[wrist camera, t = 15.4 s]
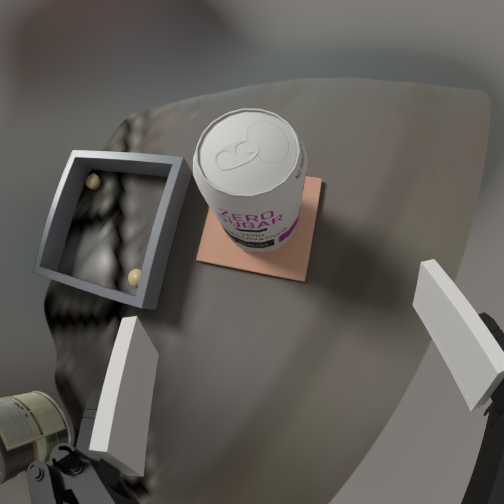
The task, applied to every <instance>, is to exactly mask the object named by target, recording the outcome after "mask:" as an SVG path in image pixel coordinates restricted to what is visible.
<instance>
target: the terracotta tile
mask: <svg viewBox="0 0 504 504" xmlns="http://www.w3.org/2000/svg"><path fill="white" fill-rule="evenodd" d="M321 181H322V179H319V178H314V177H309V176H306V177H305V183H304V189H303V196H302V202H301V208H300V214H299V220H298V224H297V228H296V231H295V233H294V234H293V236H292V237H291V239H290V240H289V242H287V243H286V244H285V245H283V246H282V247H280V248H279V249H278V250H274V251H271V252H267V253H252V252H248V251H246V250H244V249H242V248H239V247H238V246H237V245H236V244H235V243H234V242H233V241H232V240H231V239H230V238H229V237H228V235H227V234H226V232H225V231H224V229H223V227H222V226H221V224H220V223H219V221H218V219H217V218H216V216H215V215H214V213H213V211H212V210H211V208H210V207H209V211H208V214H207V218H206V222H205V226H204V230H203V234H202V238H201V242H200V246H199V250H198V254H197V258H196V260H197V261H201V262H205V263H210V264H215V265H220V266H225V267H230V268H235V269H240V270H245V271H250V272H255V273H260V274H265V275H270V276H275V277H280V278H285V279H291V280H296V281H301V282H305V277H306V272H307V267H308V261H309V255H310V250H311V244H312V238H313V232H314V226H315V220H316V214H317V208H318V201H319V195H320V188H321Z"/></svg>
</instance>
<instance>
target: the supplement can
mask: <svg viewBox="0 0 504 504" xmlns="http://www.w3.org/2000/svg"><path fill="white" fill-rule="evenodd" d="M307 164H308V162H307V156H306V150H305V145H304V144H303V142H302V141H301V139H300V137H299V136H298V134H297V133H296V131H295V130H294V129H292V127H291V126H290V124H289V123H288V122H287V121H285V120H284V119H282V118H281V117H280V116H278V115H277V114H275V113H272V112H269V111H266V110H262V109H239V110H236V111H232V112H228V113H226V114H224V115H222V116H221V117H219V118H217V119H216V120H214V121H213V122H212V123H211V124H210V125H209V126H208V127H207V128H206V129H205V131H204V132H203V133H202V135H201V137H200V139H199V142H198V144H197V147H196V152H195V155H194V157H193V176H194V178H195V181H196V183H197V185H198V188H199V190H200V192H201V194H202V195H203V197H204V198H205V200H206V202H207V203H208V205H209V207H210V208H211V210H212V211H213V213H214V215H215V216H216V218H217V219H218V221H219V223H220V224H221V226H222V227H223V229H224V231H225V232H226V234H227V235H228V237H229V238H230V239H231V240H232V241H233V242H234V243H235V244H236V245H237V246H238V247H239V248H242V249H244V250H246V251H248V252H252V253H267V252H271V251H274V250H278V249H279V248H280V247H282V246H283V245H285V244H286V243H287V242H289V240H290V239H291V237H292V236H293V234H294V233H295V231H296V228H297V224H298V220H299V214H300V208H301V202H302V196H303V189H304V183H305V177H306V170H307Z"/></svg>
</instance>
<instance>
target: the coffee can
mask: <svg viewBox="0 0 504 504" xmlns="http://www.w3.org/2000/svg"><path fill="white" fill-rule="evenodd" d="M60 443H68V444H70V445H71V430H70V426H69V423H68V420H67V418H66V416H65V414H64V412H63V411H62V409H61V408H60V406H59V405H58V404H57V403H56V402H55V400H54V399H52V398H51V397H50V396H48V395H47V394H45V393H43V392H39V391H32V392H30V393H26V394H20V395H14V396H9V397H3V398H0V484H2V483H4V482H5V481H7V480H9V479H11V478H14V477H16V476H18V475H20V474H22V473H24V472H27V470H28V467H29V465H30V464H31V463H32V462H34V461H35V460H41V461H43V462H48V461H50V454H51V452H52V449H53V448H54V447H55V446H56V445H58V444H60Z"/></svg>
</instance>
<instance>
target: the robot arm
mask: <svg viewBox="0 0 504 504" xmlns="http://www.w3.org/2000/svg"><path fill="white" fill-rule="evenodd" d="M413 307H414V309H415V310H416V312H417V314H418V315H419V317H420V318H421V320H422V322H423V323H424V325H425V327H426V329H427V330H428V332H429V334H430V335H431V337H432V339H433V341H434V342H435V344H436V346H437V348H438V349H439V351H440V353H441V355H442V356H443V358H444V360H445V362H446V364H447V366H448V367H449V369H450V371H451V373H452V375H453V377H454V379H455V381H456V383H457V384H458V386H459V388H460V390H461V392H462V394H463V396H464V398H465V400H466V402H467V404H468V407H469V409H470V411H473V410H475V409H477V408H479V407H480V406H482V405H484V404H485V403H486V402H487V401H488V399H489V398H490V397H491V399H492V401H493V402H492V403H491V405H490V406H489V407H488V408H487V409H486V411H485V413H484V416H486V414H487V413H488V412H489V416H488V421H487V424H486V429H485V433H484V437H483V441H482V444H481V448H480V451H479V455H478V458H477V461H476V464H475V467H474V471H473V473H472V476H471V479H470V482H469V485H468V487H467V490H466V493H465V495H464V498H463V500H462V503H461V504H504V333H503V332H502V330H501V329H500V327H499V326H498V325H497V323H496V322H495V320H494V319H493V318H491V317H490V316H489V315H487V314H486V313H481V314H479V315H478V314H477V313H476V311H475V310H474V309H473V308H472V306H471V305H470V303H469V302H468V301H467V300H466V298H465V297H464V296H463V294H462V293H461V292H460V290H459V289H458V288H457V287H456V285H455V284H454V283H453V282H452V280H451V279H450V278H449V277H448V275H447V274H446V273H445V272H444V270H443V269H442V268H441V267H440V266H439V264H438V263H437V262H436V261H435V260H434V259H432V260H428V261H424V262H421V265H420V271H419V276H418V281H417V287H416V292H415V296H414V301H413ZM158 356H159V353H158V352H157V350H156V348H155V347H154V345H153V343H152V342H151V340H150V338H149V336H148V335H147V333H146V331H145V329H144V328H143V326H142V324H141V322H140V321H139V319H138V317H137V316H133V317H126V318H122V321H121V325H120V328H119V331H118V334H117V338H116V341H115V344H114V348H113V351H112V355H111V358H110V362H109V366H108V369H107V373H106V377H105V381H104V385H103V388H94V389H93V391H92V392H91V394H90V395H89V397H88V399H87V403H86V407H85V411H84V415H83V419H82V423H81V427H80V431H79V436H78V440H77V445H76V448H75V447H73V446H72V445H70V444H68V443H60V444H58V445H56V446H55V447H54V448H53V449H52V452H51V454H50V465H48V464H46V463H45V462H43V461H41V460H35V461H34V462H32V463H31V464H30V465H29V467H28V470H27V481H28V487H29V492H30V498H31V502H32V504H139V502H138V501H137V500H136V498H135V497H134V496H133V494H132V493H131V492H130V490H129V489H128V487H127V486H126V484H125V483H124V482H123V480H122V479H121V478H120V477H119V475H120V471H121V472H123V473H124V474H126V475H131V476H144V466H145V455H146V445H147V436H148V427H149V419H150V411H151V403H152V396H153V388H154V382H155V375H156V368H157V362H158Z"/></svg>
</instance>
